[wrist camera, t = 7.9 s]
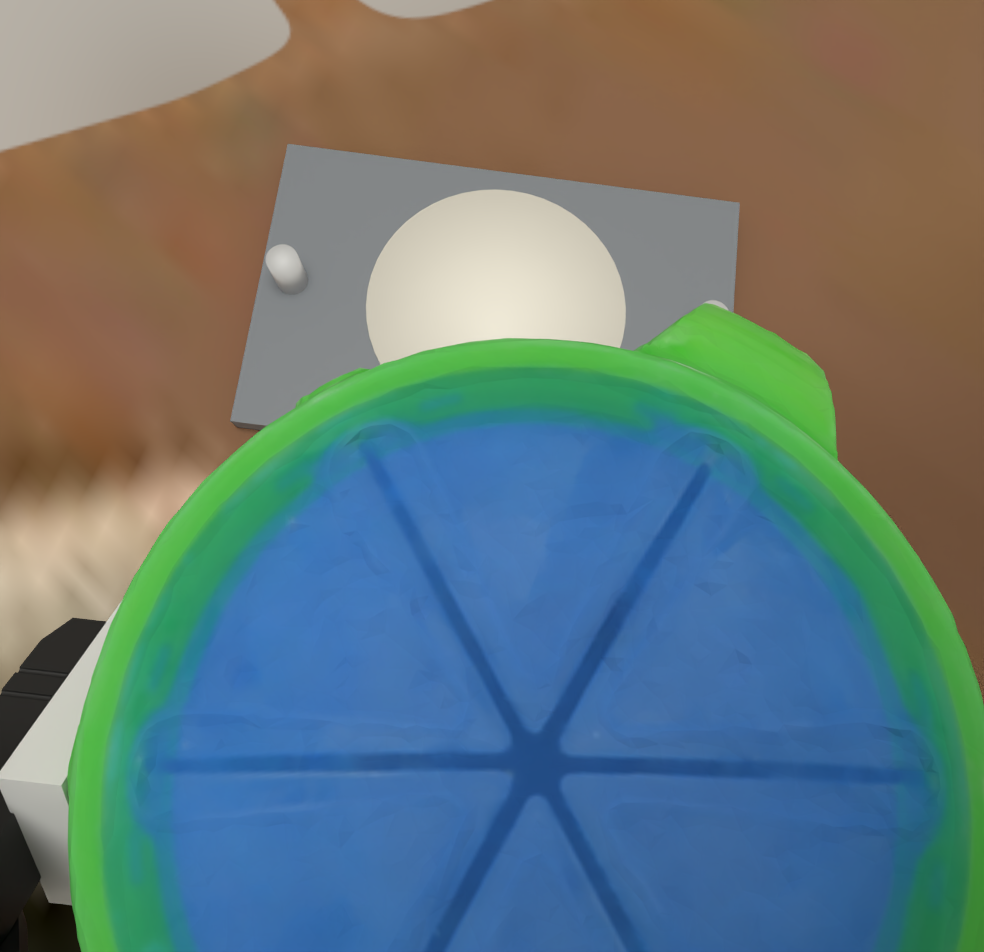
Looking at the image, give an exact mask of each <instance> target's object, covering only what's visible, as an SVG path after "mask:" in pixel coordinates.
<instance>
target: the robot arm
mask: <svg viewBox="0 0 984 952" xmlns="http://www.w3.org/2000/svg"><path fill="white" fill-rule="evenodd" d="M121 602H122V601H121ZM121 602H120V604H121ZM120 604H119V605H118V607H117V608H116V609H115V611H114V612H113V614H112V615H111V616H110V618H109V619H108V621H107V622H105V621H96V620H87V619H79V618H72V619H71V620H69V621H68V622H66V623H65V624H63V625H62V626H61V627H59V628H58V629H56V630H55V631H53V632H52V633H51V634H49V635H48V636H46V637H45V638H43V639H42V640H41V641H40V642H39V643H38V645H37V646H36V647H35V648H34V650H33V651H32V652H31V653H30V655H29V656H28V657H27V658H26V660H25V661H24V662H23V664H22V665H21V666H20V670H19V672H18V673H16V672H15V674H14V675H13V676H12V677H11V679H10V680H9V681H8V682H7V684H6V685H5V686H4V687H3V689H2V693H1V695H0V952H28V939H27V923H26V920H25V916H24V913H23V908H24V906H25V905H26V903H27V901H28V899H29V898H30V896H31V894H32V893H33V891H34V889H35V887H36V886H37V884H38V882H39V880H40V882H41V885H42V887H43V889H44V892H45V894H46V896H47V899H48V901H49V902H50V903H59V904H67V905H72V901H71V894H70V877H69V859H68V811H69V796H68V782H67V774H68V766H69V761H70V757H71V753H72V749H73V745H74V741H75V737H76V733H77V729H78V725H79V724H80V719H81V714H82V710H83V706H84V703H85V699H86V696H87V693H88V690H89V687H90V684H91V678H92V675H93V672H94V669H95V666H96V664H97V661H98V658H99V656H100V653H101V650H102V647H103V644H104V641H105V638H106V636H107V633H108V630H109V628H110V625H111V623H112V621H113V619H114V617H115V615H116V613H117V611H118V608H119V606H120Z"/></svg>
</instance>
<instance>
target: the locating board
mask: <svg viewBox="0 0 984 952" xmlns="http://www.w3.org/2000/svg"><path fill="white" fill-rule="evenodd" d="M739 205H740V203H737V202H729V201H721V200H714V199H706V198H698V197H691V196H683V195H675V194H668V193H660V192H652V191H645V190H637V189H629V188H622V187H614V186H606V185H599V184H591V183H583V182H576V181H568V180H560V179H553V178H545V177H537V176H530V175H522V174H514V173H507V172H499V171H491V170H484V169H476V168H469V167H461V166H453V165H446V164H438V163H430V162H423V161H415V160H407V159H400V158H392V157H384V156H377V155H369V154H361V153H354V152H346V151H338V150H331V149H323V148H315V147H308V146H300V145H292V144H288V146H287V150H286V155H285V160H284V165H283V170H282V175H281V179H280V184H279V189H278V194H277V199H276V203H275V208H274V213H273V218H272V223H271V228H270V232H269V237H268V242H267V247H266V252H265V256H264V261H263V266H262V271H261V276H260V280H259V285H258V290H257V295H256V300H255V305H254V309H253V314H252V319H251V324H250V329H249V333H248V338H247V343H246V348H245V353H244V358H243V362H242V367H241V372H240V377H239V382H238V386H237V391H236V396H235V401H234V406H233V410H232V415H231V420H230V421H231V422H232V423H233V424H234V425H235V426H237V427H240V428H248V429H255V430H262V429H263V428H264V427H266V426H267V425H269V424H270V423H272V422H274V421H275V420H277V419H278V418H280V417H281V416H283V415H285V414H286V413H288V412H289V411H291V410H293V409H294V408H295V407H296V403H297V402H298V401H299V400H300V399H301V398H302V397H303V396H306V395H309V394H311V393H312V392H313V391H314V390H316V389H317V388H318V387H320V386H322V385H324V384H325V383H327V382H329V381H331V380H333V379H335V378H337V377H339V376H341V375H344V374H346V373H349V372H351V371H353V370H356V369H358V368H364V369H372V368H374V367H377V366H379V365H381V364H383V363H387V362H391V361H395V360H399V359H402V358H404V357H407V356H410V355H413V354H416V353H419V352H422V351H426V350H431V349H436V348H441V347H446V346H451V345H456V344H461V343H467V342H473V341H482V340H492V339H503V338H527V339H555V340H568V341H579V342H589V343H596V344H601V345H607V346H612V347H617V348H622V349H627V350H632V351H634V350H635V349H637V348H638V347H640V346H641V345H643V344H646V343H648V342H649V341H651V340H652V339H653V338H655V337H656V336H657V335H659V334H660V333H661V332H663V331H664V330H665V329H667V328H668V327H669V326H671V325H672V324H673V323H675V322H676V321H677V320H679V319H680V318H681V317H683V316H684V315H686V314H688V313H690V312H691V311H692V310H694V309H695V308H697V307H699V306H700V305H702V304H704V303H708V304H714V305H717V306H719V307H721V308H724V309H726V310H728V311H730V312H733V308H734V291H735V274H736V257H737V239H738V222H739Z"/></svg>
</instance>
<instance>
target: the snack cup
mask: <svg viewBox="0 0 984 952" xmlns="http://www.w3.org/2000/svg"><path fill="white" fill-rule="evenodd" d="M67 782H68V796H69V811H68V859H69V877H70V894H71V901H72V907H73V911H74V916H75V920H76V927H77V937H78V941H79V944H80V948H81V952H984V704H983V700H982V695H981V691H980V687H979V684H978V681H977V678H976V676H975V673H974V670H973V667H972V664H971V661H970V658H969V656H968V653H967V650H966V647H965V645H964V643H963V641H962V639H961V637H960V635H959V634H958V631H957V627H956V624H955V620H954V617H953V615H952V613H951V611H950V609H949V608H948V606H947V604H946V602H945V600H944V599H943V597H942V595H941V593H940V592H939V590H938V588H937V586H936V584H935V583H934V581H933V579H932V578H931V576H930V574H929V573H928V571H927V570H926V568H925V567H924V565H923V563H922V562H921V560H920V559H919V557H918V555H917V554H916V553H915V551H914V550H913V548H912V547H911V546H910V544H909V543H908V541H907V540H906V538H905V537H904V536H903V534H902V533H901V532H900V530H899V529H898V527H897V526H896V525H895V523H894V522H893V521H892V519H891V518H890V517H889V516H888V515H887V513H886V512H885V511H884V510H883V508H882V507H881V506H880V505H879V504H878V502H877V501H876V500H875V499H874V498H873V496H872V495H871V494H870V493H869V492H868V491H867V490H866V489H865V488H864V487H863V486H862V485H861V483H860V482H859V481H858V480H857V479H856V478H855V477H854V476H853V475H852V474H851V473H850V472H849V471H848V470H846V469H845V468H844V467H843V466H842V465H841V464H840V463H839V462H838V460H837V450H836V423H835V409H834V406H833V402H832V392H831V390H830V389H829V385H828V382H827V380H826V377H825V373H824V371H823V370H822V369H821V368H820V367H819V366H818V365H817V364H816V363H815V362H814V361H813V360H812V359H811V358H810V357H809V356H808V355H807V354H806V353H804V352H802V351H800V350H798V349H796V348H795V347H793V346H792V345H790V344H789V343H787V342H786V341H784V340H783V339H782V338H780V337H779V336H778V335H776V334H775V333H772V332H770V331H767V330H765V329H764V328H762V327H760V326H758V325H756V324H755V323H753V322H751V321H749V320H747V319H745V318H743V317H741V316H739V315H737V314H735V313H733V312H730V311H728V310H726V309H724V308H721V307H719V306H717V305H714V304H708V303H704V304H702V305H700V306H699V307H697V308H695V309H694V310H692V311H691V312H690V313H688V314H686V315H684V316H683V317H681V318H680V319H679V320H677V321H676V322H675V323H673V324H672V325H671V326H669V327H668V328H667V329H665V330H664V331H663V332H661V333H660V334H659V335H657V336H656V337H655V338H653V339H652V340H651V341H649V342H648V343H646V344H643V345H641V346H640V347H638V348H637V349H635V350H634V351H632V350H627V349H622V348H617V347H612V346H607V345H601V344H596V343H589V342H579V341H568V340H555V339H527V338H503V339H492V340H482V341H473V342H467V343H461V344H456V345H451V346H446V347H441V348H436V349H431V350H426V351H422V352H419V353H416V354H413V355H410V356H407V357H404V358H402V359H399V360H395V361H391V362H387V363H383V364H381V365H379V366H377V367H374V368H372V369H364V368H358V369H356V370H353V371H351V372H349V373H346V374H344V375H341V376H339V377H337V378H335V379H333V380H331V381H329V382H327V383H325V384H324V385H322V386H320V387H318V388H317V389H316V390H314V391H313V392H312V393H311V394H309V395H306V396H303V397H302V398H301V399H300V400H299V401H298V402H297V403H296V407H295V408H294V409H293V410H291V411H289V412H288V413H286V414H285V415H283V416H281V417H280V418H278V419H277V420H275V421H274V422H272V423H270V424H269V425H267V426H266V427H264V428H263V429H262V430H260V431H259V432H258V433H257V434H255V435H254V436H253V437H252V438H251V439H249V440H248V441H247V442H246V443H245V444H244V445H243V446H241V447H240V448H239V449H238V450H237V451H236V452H234V453H233V454H232V455H231V456H230V457H229V458H228V459H227V460H226V461H225V462H223V463H222V464H221V465H220V466H219V467H218V468H217V469H216V470H215V471H214V472H212V473H211V474H210V475H209V476H208V477H207V478H206V479H205V480H204V481H203V482H202V483H201V484H200V486H199V487H198V488H197V489H196V490H195V491H194V493H193V494H192V495H191V496H190V497H189V499H188V500H187V501H186V502H185V504H184V505H183V506H182V507H181V509H180V510H179V511H178V512H177V513H176V514H175V515H174V516H173V518H172V519H171V520H170V521H169V522H168V524H167V525H166V527H165V528H164V530H163V531H162V533H161V534H160V535H159V537H158V539H157V540H156V542H155V544H154V545H153V547H152V549H151V550H150V552H149V554H148V555H147V557H146V559H145V560H144V562H143V564H142V565H141V567H140V569H139V570H138V572H137V573H136V574H135V576H134V578H133V580H132V582H131V584H130V586H129V588H128V590H127V592H126V594H125V596H124V598H123V600H122V602H121V604H120V606H119V608H118V611H117V613H116V615H115V617H114V619H113V621H112V623H111V625H110V628H109V630H108V633H107V636H106V638H105V641H104V644H103V647H102V650H101V653H100V656H99V658H98V661H97V664H96V666H95V669H94V672H93V675H92V678H91V684H90V687H89V690H88V693H87V696H86V699H85V703H84V706H83V710H82V714H81V719H80V724H79V725H78V729H77V733H76V737H75V741H74V745H73V749H72V753H71V757H70V761H69V766H68V774H67Z"/></svg>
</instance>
